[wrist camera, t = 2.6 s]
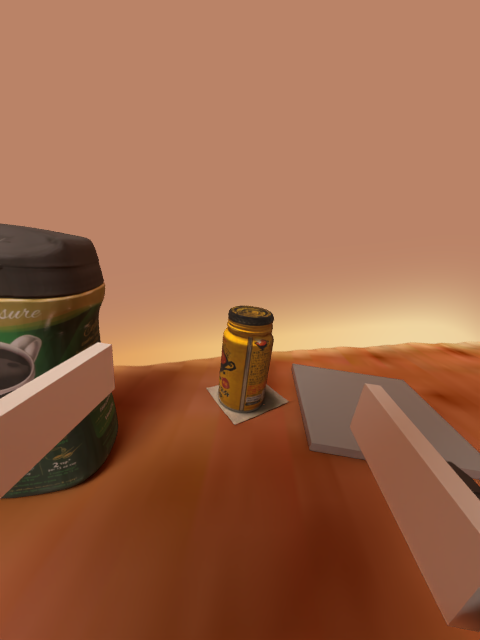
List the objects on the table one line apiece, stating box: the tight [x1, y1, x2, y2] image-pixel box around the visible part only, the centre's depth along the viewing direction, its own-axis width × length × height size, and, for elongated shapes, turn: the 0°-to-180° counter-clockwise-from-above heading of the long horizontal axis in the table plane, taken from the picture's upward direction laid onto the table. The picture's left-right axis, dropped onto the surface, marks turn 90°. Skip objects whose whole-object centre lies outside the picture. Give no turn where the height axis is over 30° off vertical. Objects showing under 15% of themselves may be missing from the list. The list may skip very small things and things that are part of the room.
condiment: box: [207, 306, 289, 425], centre depth 28 cm, size 7×8×12 cm
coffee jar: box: [0, 224, 118, 499], centre depth 16 cm, size 10×8×19 cm
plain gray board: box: [292, 364, 480, 479], centre depth 29 cm, size 18×16×1 cm
